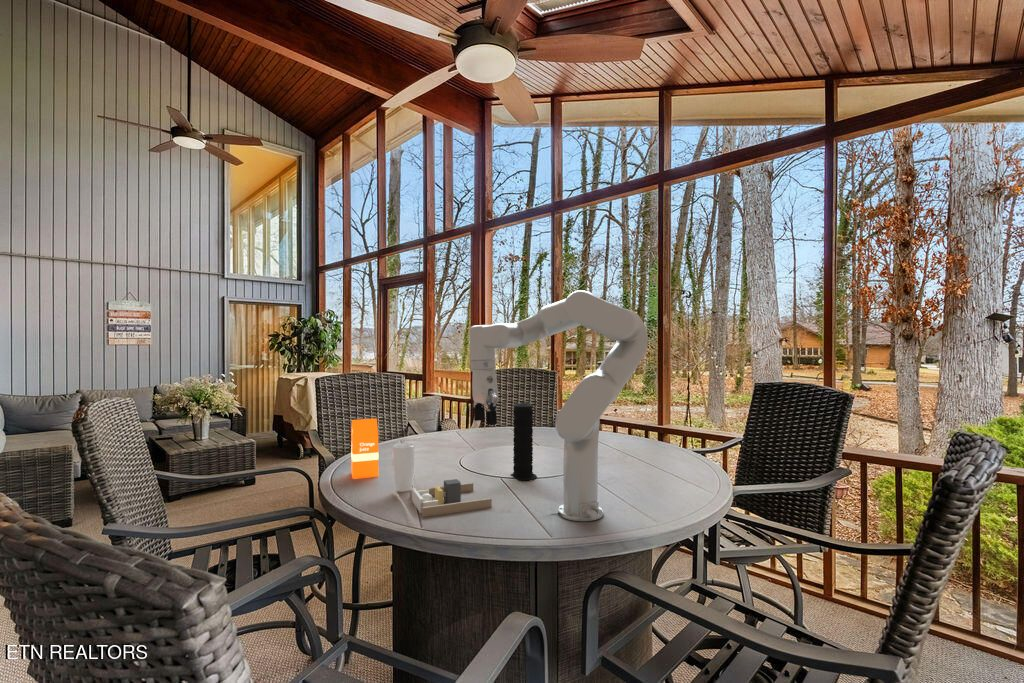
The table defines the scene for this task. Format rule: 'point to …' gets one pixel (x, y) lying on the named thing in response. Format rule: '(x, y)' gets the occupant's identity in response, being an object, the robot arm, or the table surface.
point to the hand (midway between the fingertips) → (485, 422)
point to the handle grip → (523, 442)
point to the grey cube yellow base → (449, 492)
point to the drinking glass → (403, 466)
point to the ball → (427, 497)
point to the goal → (421, 499)
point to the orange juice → (364, 448)
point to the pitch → (454, 506)
